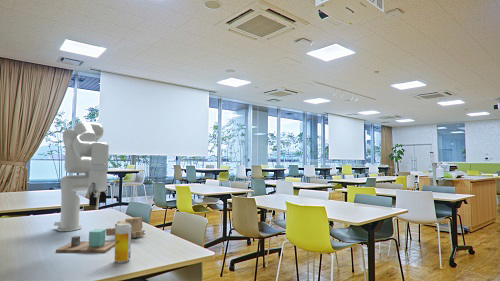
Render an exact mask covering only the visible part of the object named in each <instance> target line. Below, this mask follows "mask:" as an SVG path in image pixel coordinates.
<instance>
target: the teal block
mask: <svg viewBox="0 0 500 281" xmlns="http://www.w3.org/2000/svg"><path fill="white" fill-rule="evenodd" d="M106 229H107V228H104V229H98V228H97V229H92V230H90V231H89V232H88V241H89V246H102V245H103V244H105V242H106Z"/></svg>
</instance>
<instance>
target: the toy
mask: <svg viewBox="0 0 500 281" xmlns="http://www.w3.org/2000/svg"><path fill="white" fill-rule="evenodd" d="M143 222H144V216H139V217H130V218H128V217H127V218H125V220H120V221H117V223H114V228H113V227H112V228H111V227H108V228H105V229H106V230H105V237H107V236H115V231H116V226H117V224H120V223H130V225H131V239H134V238H137V237H143V236H145V235H146V233H145V232H146V231H145V229H144V230H142V229H143Z"/></svg>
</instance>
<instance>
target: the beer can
mask: <svg viewBox="0 0 500 281" xmlns="http://www.w3.org/2000/svg"><path fill="white" fill-rule="evenodd" d="M116 224H117V223H116ZM114 236H115V238H114V242H115V246H114V261H115V263H117V264H125V263H128V262H129V261H130V260H131V253H132V252H131V251H132V250H131V249H132V248H131V246H132V245H131V244H132V237H131V225H130V223H120V224H117V226H116V231H115V235H114Z"/></svg>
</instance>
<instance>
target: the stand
mask: <svg viewBox="0 0 500 281" xmlns="http://www.w3.org/2000/svg"><path fill="white" fill-rule="evenodd" d="M70 240H71V241H70V242H69V243H67V244H64V245H62V246H60V247H58V248H57V249H55V253H77V254H78V252H80V253H85V254H86V253H92V254H93V253H95V254H96V253H97V254H99V253H100V254H101V253H102V254H104V253H107V252H108V251H110V250H112V249H113V248H115V241H105V244H103V245H102V246H89V240H88V241H86V240H85V241H81V236H80V235H74V236H71V239H70Z"/></svg>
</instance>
